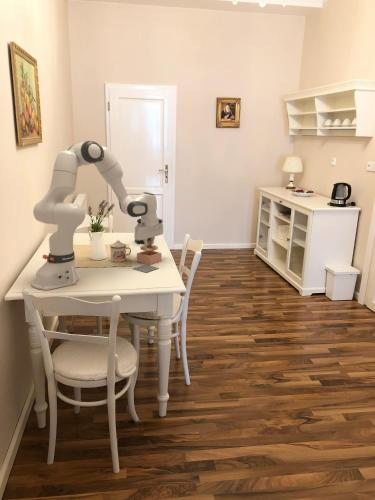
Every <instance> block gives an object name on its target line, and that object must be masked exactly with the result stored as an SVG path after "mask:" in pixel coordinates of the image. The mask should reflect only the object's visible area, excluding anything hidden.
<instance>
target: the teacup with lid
mask: <svg viewBox="0 0 375 500" xmlns="http://www.w3.org/2000/svg"><path fill="white" fill-rule="evenodd" d="M127 249H128V250H129V253H127ZM131 253H132V249H131V248H130V247H129V246H127V244H125V243H124V242H122V241H120V240H119V239H117V240H116V242H113V243H111V244H110V260H112V261H111V262H113V261H114V263H122V261H123V262H125V261H126V260H127V257H129V255H131Z"/></svg>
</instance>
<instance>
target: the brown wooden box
mask: <svg viewBox="0 0 375 500" xmlns="http://www.w3.org/2000/svg"><path fill="white" fill-rule="evenodd" d="M136 222H137V224H140V223H141V218H138V219H137V221H136ZM147 240H151V238H147ZM134 242H135V243H136V244H137V245H145V244H144V241H143V240H140V241H139V240H135V239H134Z"/></svg>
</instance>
